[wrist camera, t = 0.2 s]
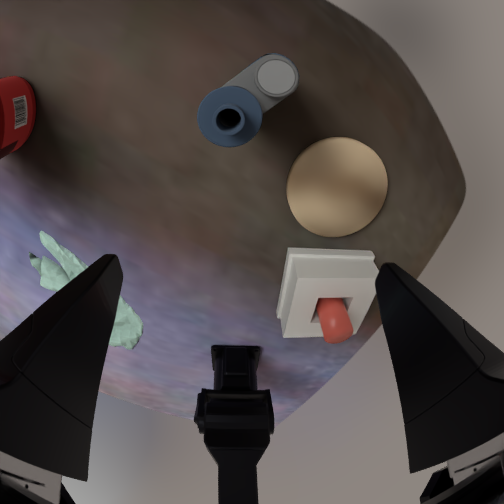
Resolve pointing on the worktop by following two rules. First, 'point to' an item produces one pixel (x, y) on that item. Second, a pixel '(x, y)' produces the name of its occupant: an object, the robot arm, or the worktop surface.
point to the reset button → (334, 320)
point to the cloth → (57, 277)
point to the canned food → (15, 113)
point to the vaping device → (246, 100)
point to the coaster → (336, 186)
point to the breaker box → (324, 287)
